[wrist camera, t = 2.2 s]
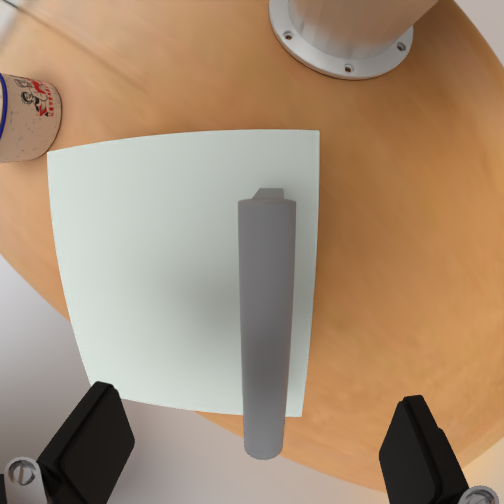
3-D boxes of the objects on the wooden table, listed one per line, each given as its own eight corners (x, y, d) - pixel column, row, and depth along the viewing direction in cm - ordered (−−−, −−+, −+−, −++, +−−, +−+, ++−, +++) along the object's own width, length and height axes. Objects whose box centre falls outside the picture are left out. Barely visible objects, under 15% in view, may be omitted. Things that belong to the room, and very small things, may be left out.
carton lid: (54, 151, 17) (-25, 158, 10) (317, 132, 15) (343, 112, 9) (97, 385, 22) (57, 441, 15) (300, 409, 21) (303, 487, 14)
